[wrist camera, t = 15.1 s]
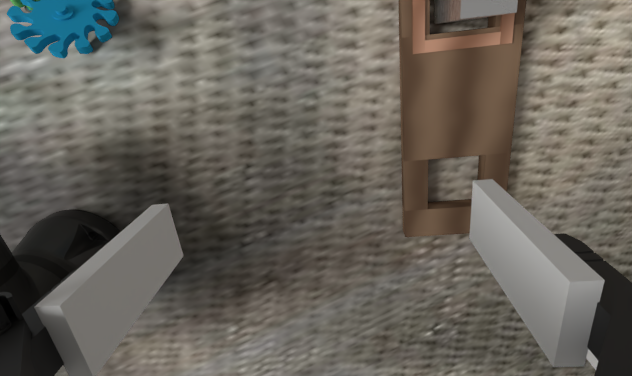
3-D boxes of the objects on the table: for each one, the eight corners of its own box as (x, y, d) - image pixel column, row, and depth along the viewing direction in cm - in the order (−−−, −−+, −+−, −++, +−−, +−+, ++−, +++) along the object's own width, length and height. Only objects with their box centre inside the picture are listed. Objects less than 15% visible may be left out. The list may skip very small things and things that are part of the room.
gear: (134, -2, 37) (69, 63, 33) (150, 40, 43) (96, 100, 39) (42, -46, 38) (-33, 14, 34) (70, 1, 43) (8, 57, 39)
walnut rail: (402, 229, 47) (405, 237, 45) (397, -75, 35) (400, -82, 33) (496, 223, 46) (503, 231, 44) (525, -94, 34) (537, -103, 32)
